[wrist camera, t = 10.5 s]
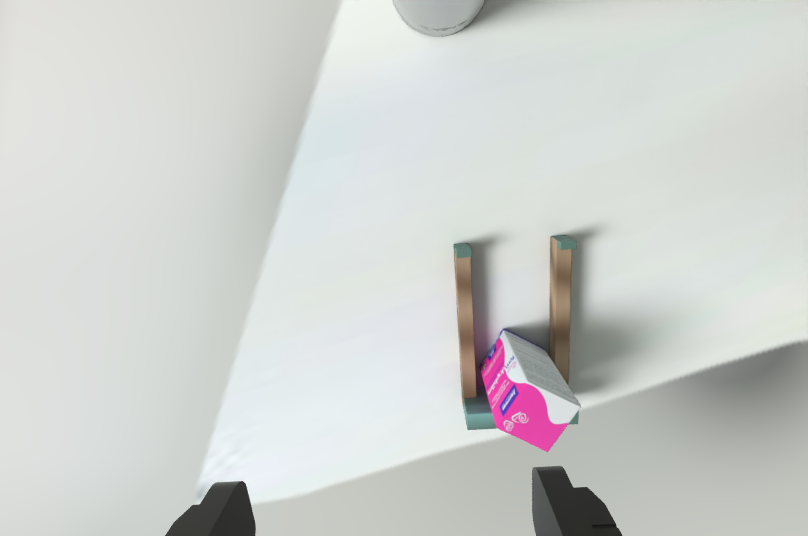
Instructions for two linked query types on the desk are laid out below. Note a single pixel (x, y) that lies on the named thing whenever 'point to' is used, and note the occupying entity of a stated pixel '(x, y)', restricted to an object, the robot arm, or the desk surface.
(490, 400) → the supplement box
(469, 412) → the guide lane
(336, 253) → the desk surface
